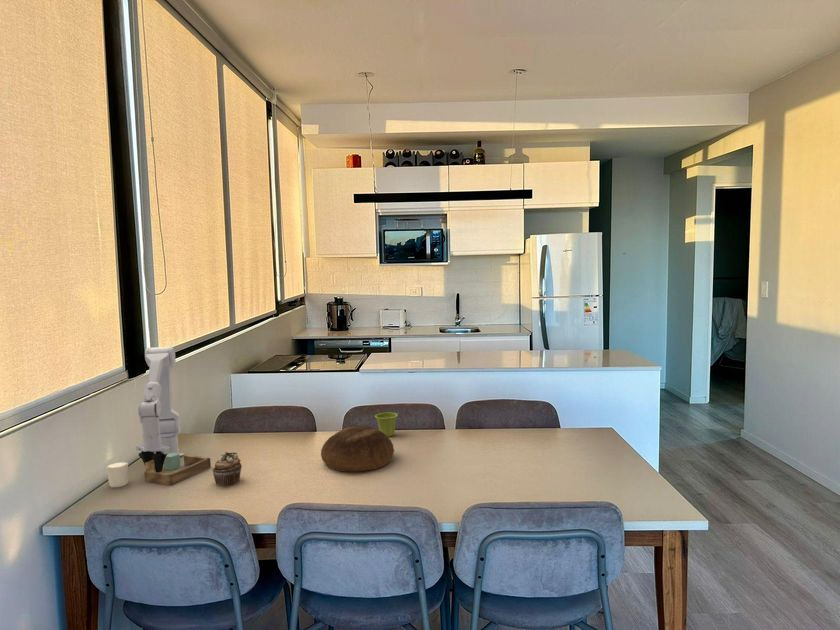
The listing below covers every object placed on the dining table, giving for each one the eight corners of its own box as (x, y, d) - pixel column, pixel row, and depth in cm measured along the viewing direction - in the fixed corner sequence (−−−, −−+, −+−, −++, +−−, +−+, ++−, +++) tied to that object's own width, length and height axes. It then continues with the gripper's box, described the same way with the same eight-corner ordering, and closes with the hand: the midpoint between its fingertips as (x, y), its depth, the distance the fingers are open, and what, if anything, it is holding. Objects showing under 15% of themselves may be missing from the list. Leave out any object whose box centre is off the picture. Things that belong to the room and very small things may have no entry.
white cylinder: (134, 481, 210) (132, 462, 209) (118, 488, 203) (116, 468, 203) (119, 479, 212) (117, 460, 211) (103, 487, 206) (101, 467, 205)
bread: (408, 459, 223) (407, 424, 222) (353, 480, 204) (351, 442, 202) (362, 446, 241) (361, 414, 240) (308, 464, 221) (306, 429, 220)
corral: (145, 481, 209) (144, 471, 209) (186, 463, 227) (185, 454, 226) (170, 485, 205) (169, 475, 204) (210, 467, 222) (210, 458, 221)
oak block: (146, 476, 215) (145, 462, 214) (155, 472, 218) (154, 459, 218) (154, 477, 213) (153, 463, 213) (163, 473, 217) (162, 460, 216)
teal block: (164, 469, 222) (162, 456, 221) (172, 465, 226) (171, 452, 225) (172, 470, 220) (171, 457, 220) (180, 466, 224) (179, 453, 224)
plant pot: (397, 438, 250) (396, 417, 249) (375, 438, 250) (374, 418, 249) (398, 431, 259) (398, 412, 258) (377, 432, 259) (376, 412, 258)
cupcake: (219, 477, 211) (217, 449, 210) (246, 476, 210) (244, 449, 210) (208, 487, 201) (206, 458, 200) (237, 487, 201) (235, 458, 200)
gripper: (127, 435, 214) (130, 472, 215) (157, 439, 208) (160, 477, 209) (143, 430, 220) (146, 466, 221) (173, 433, 214) (176, 470, 215)
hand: (154, 471), depth 216 cm, fingers closed on oak block, 4 cm apart
